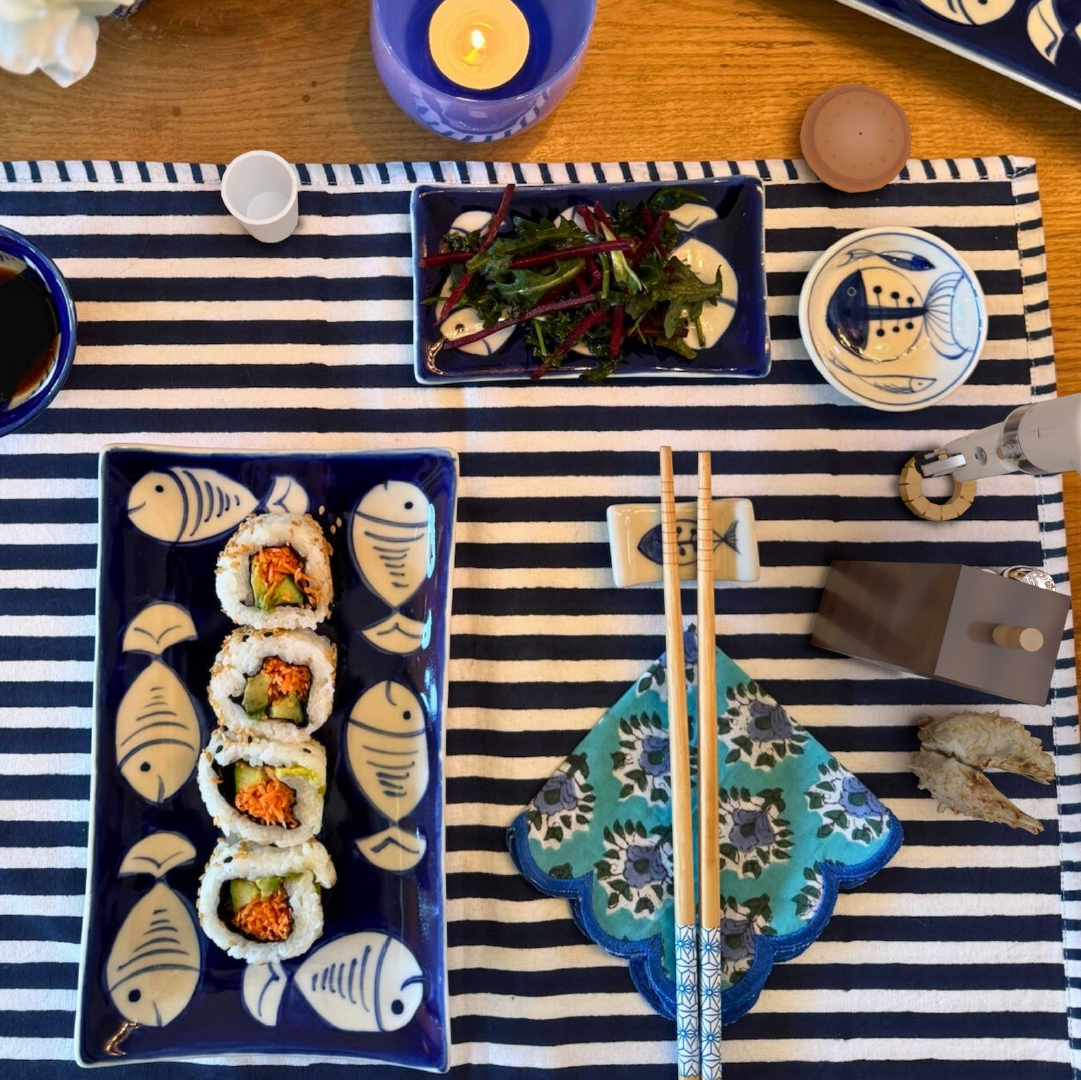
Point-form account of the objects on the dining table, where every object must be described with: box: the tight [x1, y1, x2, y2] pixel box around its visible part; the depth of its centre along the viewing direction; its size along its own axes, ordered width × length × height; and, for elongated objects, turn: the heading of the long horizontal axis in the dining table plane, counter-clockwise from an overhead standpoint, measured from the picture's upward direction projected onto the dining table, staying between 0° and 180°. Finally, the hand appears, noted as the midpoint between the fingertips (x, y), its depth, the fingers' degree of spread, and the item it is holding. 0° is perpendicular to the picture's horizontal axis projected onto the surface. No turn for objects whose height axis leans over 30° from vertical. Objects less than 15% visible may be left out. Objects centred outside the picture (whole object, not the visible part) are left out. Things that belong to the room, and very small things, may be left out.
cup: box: [220, 149, 299, 244], centre depth 141 cm, size 10×10×13 cm
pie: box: [798, 83, 913, 194], centre depth 146 cm, size 15×16×5 cm
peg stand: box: [809, 559, 1073, 708], centre depth 124 cm, size 12×12×39 cm
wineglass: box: [980, 564, 1057, 592], centre depth 138 cm, size 6×6×12 cm
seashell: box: [906, 708, 1057, 835], centre depth 134 cm, size 18×18×15 cm
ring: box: [898, 448, 977, 522], centre depth 144 cm, size 10×10×2 cm
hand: (957, 452), depth 126 cm, fingers open, 9 cm apart
